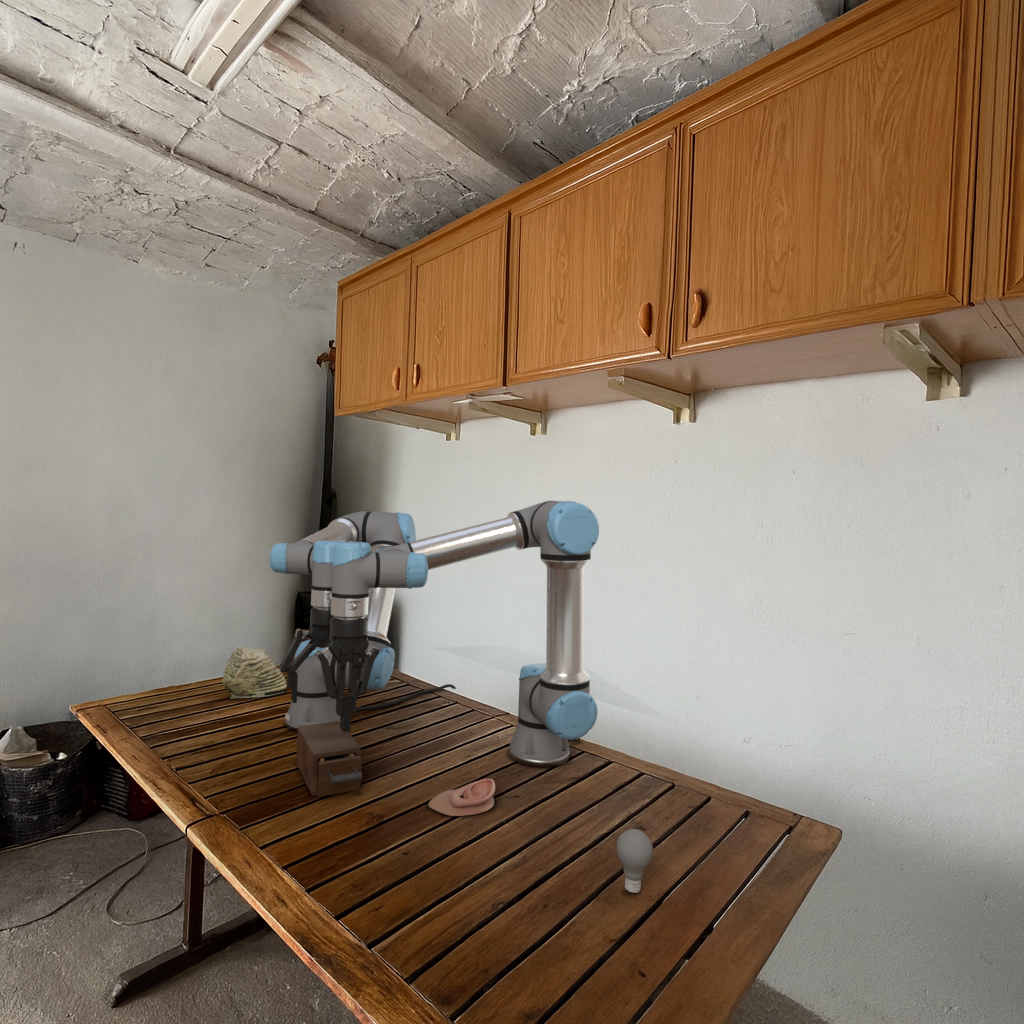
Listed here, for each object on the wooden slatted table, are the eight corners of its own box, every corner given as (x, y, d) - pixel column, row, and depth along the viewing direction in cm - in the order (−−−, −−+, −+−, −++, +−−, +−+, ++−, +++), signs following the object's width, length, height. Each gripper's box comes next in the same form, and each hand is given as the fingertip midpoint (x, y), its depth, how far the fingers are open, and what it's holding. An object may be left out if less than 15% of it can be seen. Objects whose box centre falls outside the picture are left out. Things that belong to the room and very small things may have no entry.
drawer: (367, 800, 131) (368, 767, 131) (324, 808, 127) (325, 774, 127) (340, 759, 150) (341, 731, 150) (302, 765, 146) (303, 736, 146)
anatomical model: (423, 792, 129) (441, 769, 140) (422, 812, 129) (440, 787, 140) (487, 801, 126) (499, 777, 137) (486, 821, 126) (498, 795, 137)
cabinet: (359, 787, 139) (360, 747, 139) (312, 796, 134) (313, 754, 134) (338, 756, 154) (340, 720, 154) (296, 763, 150) (297, 726, 149)
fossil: (218, 695, 195) (220, 647, 195) (278, 685, 208) (279, 640, 207) (228, 703, 189) (230, 653, 188) (289, 692, 201) (290, 645, 201)
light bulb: (610, 879, 108) (613, 822, 108) (644, 879, 109) (647, 822, 109) (619, 902, 102) (622, 840, 102) (655, 901, 103) (658, 840, 103)
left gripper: (273, 612, 138) (269, 709, 138) (384, 607, 150) (381, 696, 150) (268, 606, 144) (265, 699, 145) (375, 602, 157) (372, 687, 157)
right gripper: (321, 621, 125) (316, 740, 125) (385, 618, 131) (381, 731, 131) (313, 614, 131) (309, 727, 132) (374, 611, 137) (370, 719, 138)
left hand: (324, 697), depth 148 cm, fingers open, 13 cm apart
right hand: (345, 729), depth 131 cm, fingers closed
